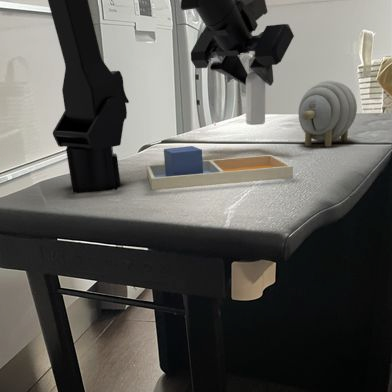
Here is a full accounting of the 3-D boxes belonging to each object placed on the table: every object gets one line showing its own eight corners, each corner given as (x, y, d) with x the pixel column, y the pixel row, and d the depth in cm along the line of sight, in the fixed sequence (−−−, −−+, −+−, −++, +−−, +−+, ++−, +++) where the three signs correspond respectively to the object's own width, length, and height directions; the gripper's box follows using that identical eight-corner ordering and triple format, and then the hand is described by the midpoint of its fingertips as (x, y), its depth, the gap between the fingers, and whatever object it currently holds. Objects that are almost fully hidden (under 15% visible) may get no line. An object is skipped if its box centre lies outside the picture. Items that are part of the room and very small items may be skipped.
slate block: (174, 185, 77) (171, 152, 75) (166, 180, 81) (163, 149, 79) (203, 181, 78) (202, 149, 76) (194, 176, 82) (192, 145, 80)
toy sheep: (364, 138, 110) (369, 77, 105) (336, 151, 98) (340, 83, 93) (314, 137, 116) (317, 79, 110) (281, 150, 103) (282, 85, 98)
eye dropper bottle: (238, 125, 100) (237, 50, 95) (250, 121, 105) (250, 50, 99) (260, 125, 98) (261, 49, 93) (271, 121, 103) (273, 49, 97)
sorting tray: (152, 194, 76) (151, 178, 75) (147, 179, 85) (146, 165, 84) (292, 181, 78) (293, 166, 77) (272, 168, 88) (272, 154, 87)
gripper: (289, -39, 82) (323, 44, 95) (198, -22, 94) (239, 50, 106) (257, 21, 81) (296, 97, 93) (168, 31, 93) (214, 97, 105)
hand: (260, 83), depth 99 cm, fingers closed on eye dropper bottle, 5 cm apart
